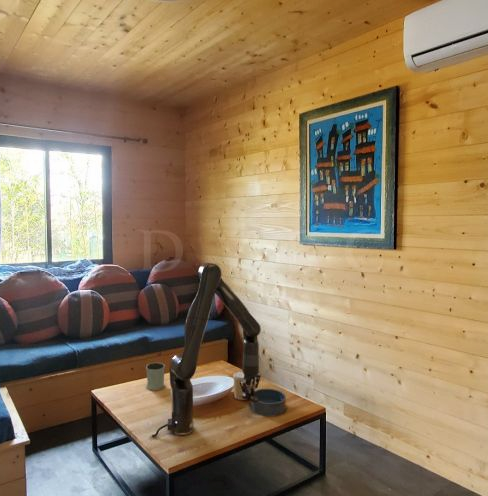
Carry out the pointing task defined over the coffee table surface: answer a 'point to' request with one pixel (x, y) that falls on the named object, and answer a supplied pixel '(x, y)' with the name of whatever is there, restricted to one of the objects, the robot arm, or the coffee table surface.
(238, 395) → the coffee cup
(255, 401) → the stick
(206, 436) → the coffee table surface
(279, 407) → the bowl
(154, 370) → the green cylindrical pot
